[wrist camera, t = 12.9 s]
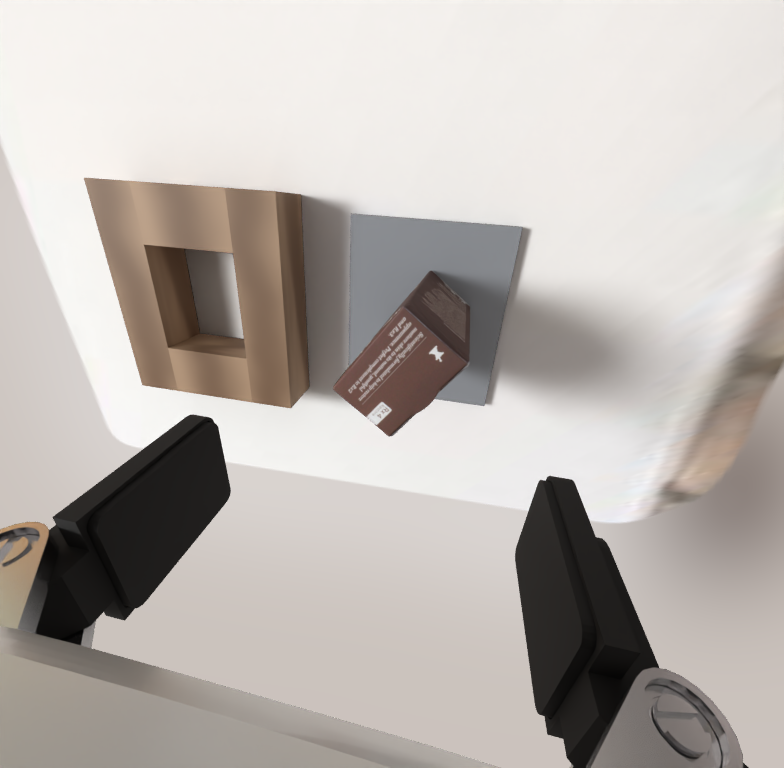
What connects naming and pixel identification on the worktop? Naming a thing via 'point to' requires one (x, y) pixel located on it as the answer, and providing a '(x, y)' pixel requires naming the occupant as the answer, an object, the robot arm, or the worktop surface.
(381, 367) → the box
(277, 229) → the pocket block
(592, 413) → the worktop surface
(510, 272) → the mat
